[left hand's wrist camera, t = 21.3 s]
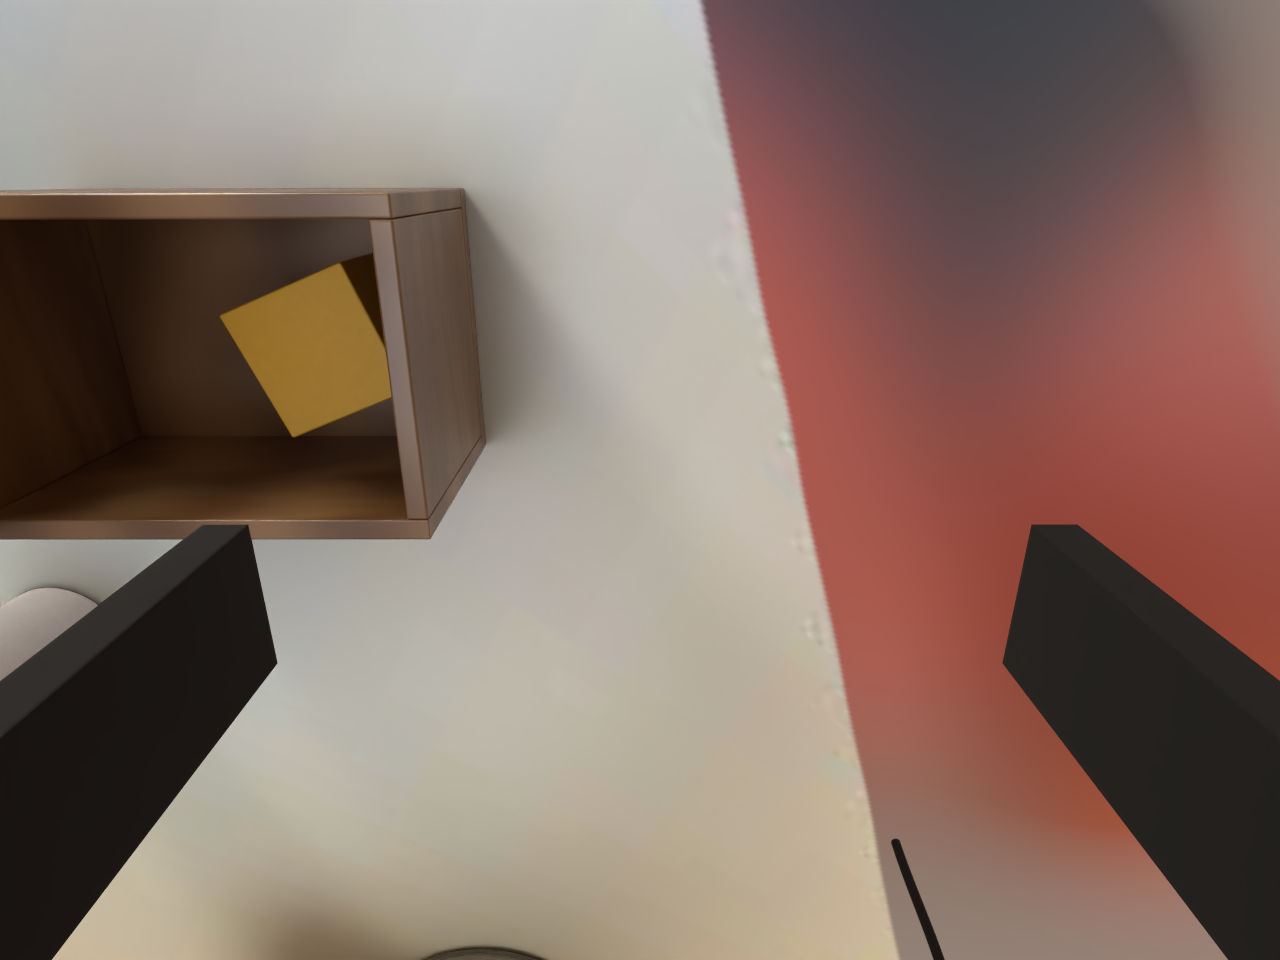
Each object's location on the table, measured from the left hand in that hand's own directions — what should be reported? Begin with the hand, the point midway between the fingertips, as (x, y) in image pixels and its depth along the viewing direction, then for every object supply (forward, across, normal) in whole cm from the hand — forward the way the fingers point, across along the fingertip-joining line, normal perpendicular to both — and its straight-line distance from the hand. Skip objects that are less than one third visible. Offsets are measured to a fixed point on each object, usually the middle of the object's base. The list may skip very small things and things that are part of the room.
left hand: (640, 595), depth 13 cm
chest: (+24, +16, 0) cm, 29 cm away
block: (+23, +13, 0) cm, 27 cm away
